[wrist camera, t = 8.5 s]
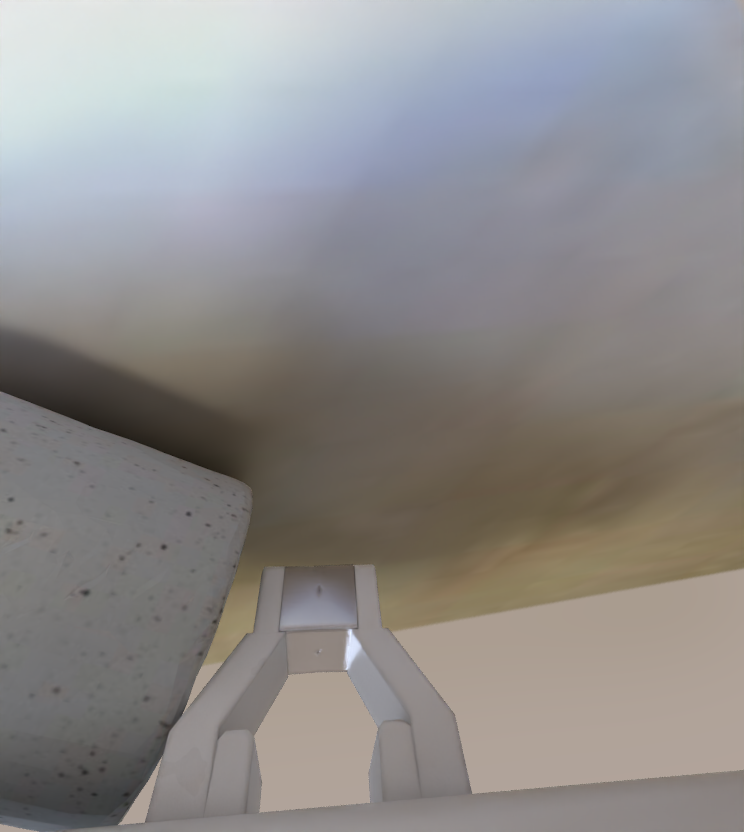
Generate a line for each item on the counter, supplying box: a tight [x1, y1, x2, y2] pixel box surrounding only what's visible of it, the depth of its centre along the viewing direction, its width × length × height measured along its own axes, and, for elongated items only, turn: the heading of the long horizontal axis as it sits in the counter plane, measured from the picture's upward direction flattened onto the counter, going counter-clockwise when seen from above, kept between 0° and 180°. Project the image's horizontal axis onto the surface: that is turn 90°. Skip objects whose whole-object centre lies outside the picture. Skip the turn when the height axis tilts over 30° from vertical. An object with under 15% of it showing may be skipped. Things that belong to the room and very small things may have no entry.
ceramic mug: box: [0, 391, 253, 832], centre depth 10 cm, size 11×8×8 cm
